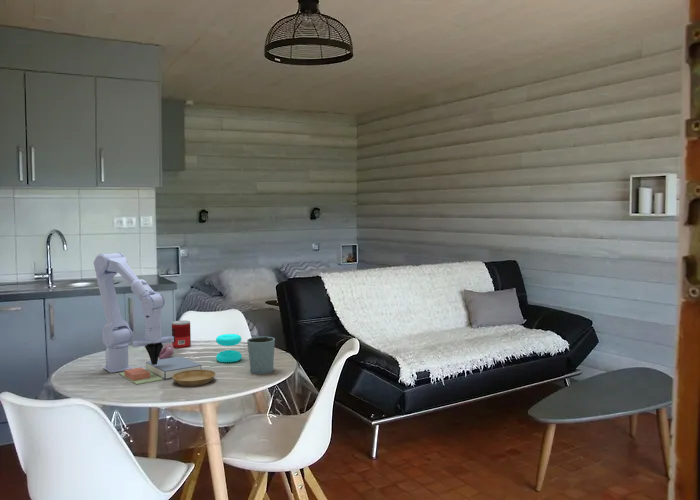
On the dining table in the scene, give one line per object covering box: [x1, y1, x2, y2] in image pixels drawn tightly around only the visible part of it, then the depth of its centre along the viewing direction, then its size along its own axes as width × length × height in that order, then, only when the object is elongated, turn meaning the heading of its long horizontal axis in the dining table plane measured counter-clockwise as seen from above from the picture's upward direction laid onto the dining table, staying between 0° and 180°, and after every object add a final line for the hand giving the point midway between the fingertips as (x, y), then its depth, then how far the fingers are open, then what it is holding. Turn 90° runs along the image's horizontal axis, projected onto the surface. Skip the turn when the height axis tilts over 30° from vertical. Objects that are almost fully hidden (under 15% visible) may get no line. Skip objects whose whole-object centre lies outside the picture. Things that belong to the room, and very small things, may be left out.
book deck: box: [145, 355, 203, 380], centre depth 224 cm, size 18×14×3 cm
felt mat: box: [118, 368, 164, 386], centre depth 217 cm, size 18×9×1 cm, turn 39°
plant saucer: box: [171, 369, 217, 387], centre depth 210 cm, size 15×15×3 cm
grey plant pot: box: [246, 336, 276, 375], centre depth 224 cm, size 10×10×12 cm
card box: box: [123, 366, 150, 381], centre depth 215 cm, size 9×6×2 cm, turn 39°
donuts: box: [215, 333, 243, 364], centre depth 241 cm, size 10×10×10 cm
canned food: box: [171, 319, 192, 349], centre depth 267 cm, size 8×8×11 cm
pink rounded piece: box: [158, 343, 175, 360], centre depth 244 cm, size 10×5×7 cm, turn 22°
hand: (154, 364), depth 219 cm, fingers closed
